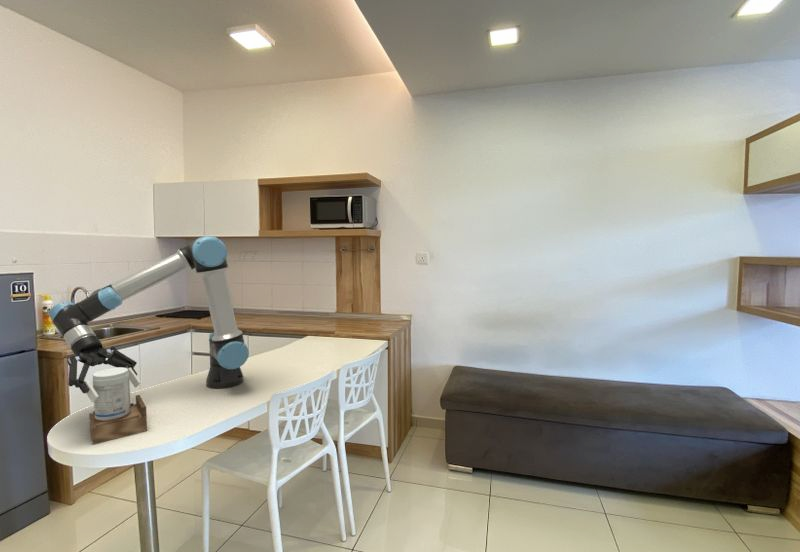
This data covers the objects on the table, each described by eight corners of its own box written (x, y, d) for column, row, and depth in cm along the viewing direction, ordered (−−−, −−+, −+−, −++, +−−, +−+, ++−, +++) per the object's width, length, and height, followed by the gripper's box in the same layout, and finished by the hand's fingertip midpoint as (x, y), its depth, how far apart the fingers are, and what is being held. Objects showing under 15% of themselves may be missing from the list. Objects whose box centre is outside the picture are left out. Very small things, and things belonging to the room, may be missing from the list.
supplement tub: (107, 410, 132) (104, 367, 131) (137, 409, 133) (135, 366, 132) (87, 422, 123) (84, 376, 122) (120, 421, 124) (117, 375, 123)
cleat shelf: (140, 416, 139) (139, 394, 138) (147, 430, 128) (146, 406, 128) (90, 428, 130) (88, 404, 129) (92, 444, 119) (91, 418, 119)
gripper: (116, 341, 143) (148, 386, 139) (33, 359, 120) (69, 413, 116) (126, 327, 141) (158, 373, 137) (44, 343, 118) (80, 398, 114)
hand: (117, 391), depth 127 cm, fingers open, 13 cm apart
